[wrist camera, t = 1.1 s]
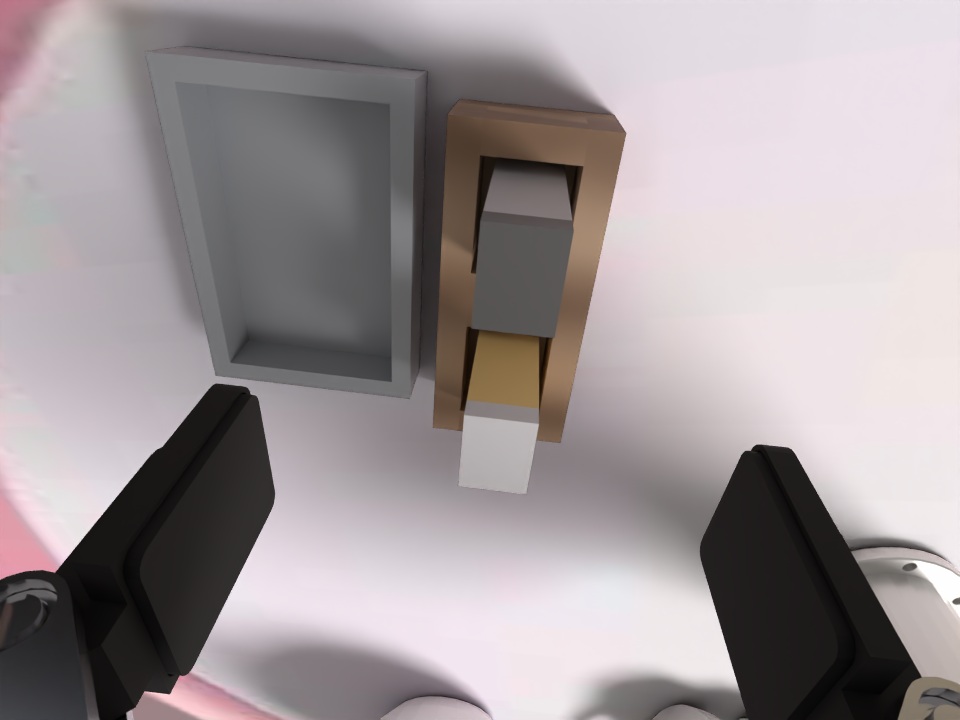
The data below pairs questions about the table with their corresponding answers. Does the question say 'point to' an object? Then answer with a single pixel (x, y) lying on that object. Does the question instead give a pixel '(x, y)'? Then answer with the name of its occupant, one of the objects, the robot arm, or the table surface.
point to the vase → (436, 710)
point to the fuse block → (468, 172)
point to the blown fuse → (523, 249)
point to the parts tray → (300, 212)
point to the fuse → (501, 413)
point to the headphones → (685, 714)
